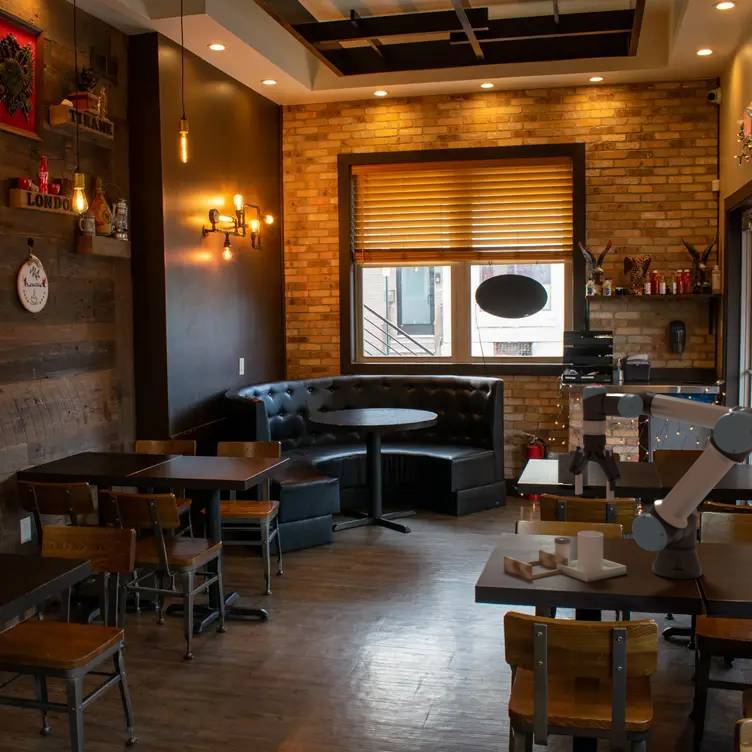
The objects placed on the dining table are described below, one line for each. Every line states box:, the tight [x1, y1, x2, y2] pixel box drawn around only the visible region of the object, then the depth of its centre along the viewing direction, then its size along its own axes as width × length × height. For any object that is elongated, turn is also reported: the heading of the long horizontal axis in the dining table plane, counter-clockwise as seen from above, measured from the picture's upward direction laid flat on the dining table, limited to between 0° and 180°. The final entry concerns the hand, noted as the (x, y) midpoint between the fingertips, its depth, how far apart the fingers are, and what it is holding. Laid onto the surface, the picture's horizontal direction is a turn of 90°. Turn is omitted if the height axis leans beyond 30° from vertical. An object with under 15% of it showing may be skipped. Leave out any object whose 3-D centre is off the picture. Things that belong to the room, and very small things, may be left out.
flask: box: [557, 449, 589, 486], centre depth 439 cm, size 4×14×18 cm, turn 78°
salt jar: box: [553, 536, 571, 561], centre depth 300 cm, size 5×5×9 cm
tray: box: [557, 558, 627, 583], centre depth 292 cm, size 14×17×2 cm
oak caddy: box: [503, 549, 568, 580], centre depth 294 cm, size 13×16×4 cm
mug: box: [577, 530, 604, 573], centre depth 292 cm, size 12×8×12 cm
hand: (594, 497), depth 296 cm, fingers open, 13 cm apart
